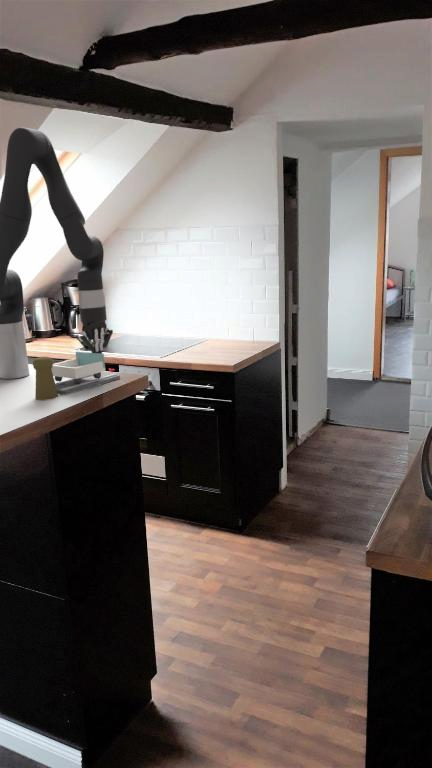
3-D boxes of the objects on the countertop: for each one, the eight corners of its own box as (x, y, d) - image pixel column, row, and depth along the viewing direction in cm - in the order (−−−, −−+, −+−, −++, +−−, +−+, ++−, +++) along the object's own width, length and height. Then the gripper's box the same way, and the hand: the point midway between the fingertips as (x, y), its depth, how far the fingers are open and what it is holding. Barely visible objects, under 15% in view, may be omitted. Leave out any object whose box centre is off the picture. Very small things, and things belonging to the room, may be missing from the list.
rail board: (42, 390, 170) (41, 386, 170) (96, 375, 187) (96, 371, 186) (65, 394, 164) (65, 389, 164) (120, 378, 181) (119, 374, 181)
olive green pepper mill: (52, 400, 160) (47, 359, 157) (31, 400, 161) (26, 359, 158) (62, 394, 165) (57, 355, 163) (41, 394, 167) (37, 355, 164)
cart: (50, 382, 173) (47, 358, 171) (79, 374, 182) (77, 351, 180) (76, 386, 167) (74, 361, 165) (106, 377, 175) (103, 354, 174)
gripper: (99, 302, 183) (104, 358, 187) (66, 307, 173) (72, 366, 177) (117, 303, 179) (122, 360, 183) (84, 308, 168) (90, 368, 173)
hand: (97, 363), depth 180 cm, fingers closed
